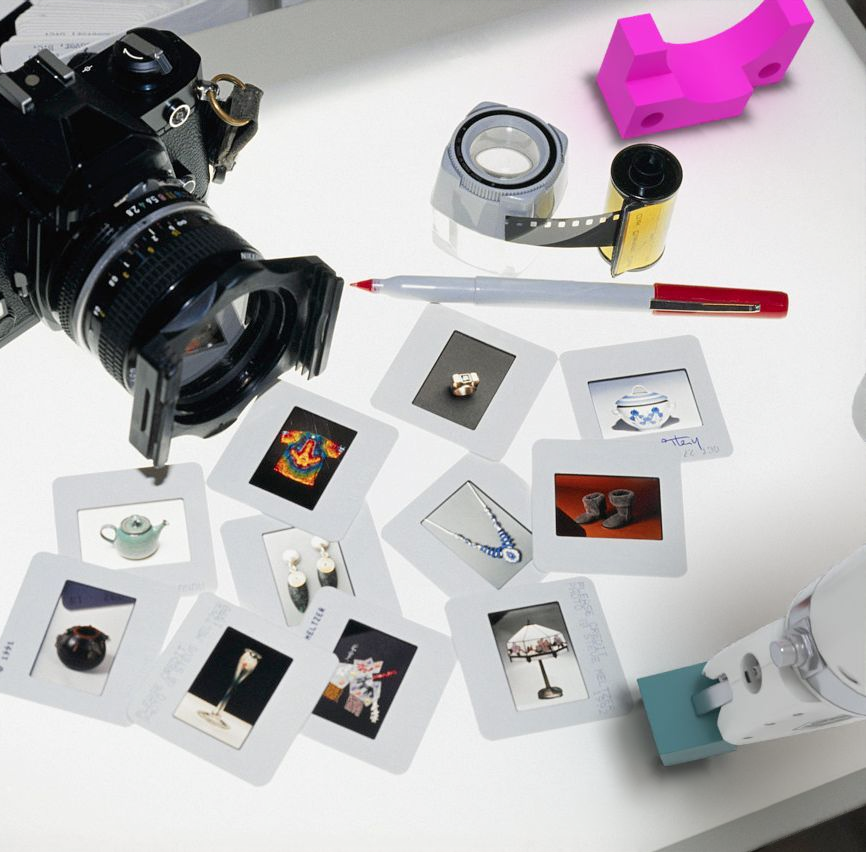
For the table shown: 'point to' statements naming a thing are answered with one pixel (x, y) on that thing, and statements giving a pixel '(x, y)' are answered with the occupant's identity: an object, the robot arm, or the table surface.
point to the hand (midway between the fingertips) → (741, 710)
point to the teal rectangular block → (681, 716)
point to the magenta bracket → (696, 68)
